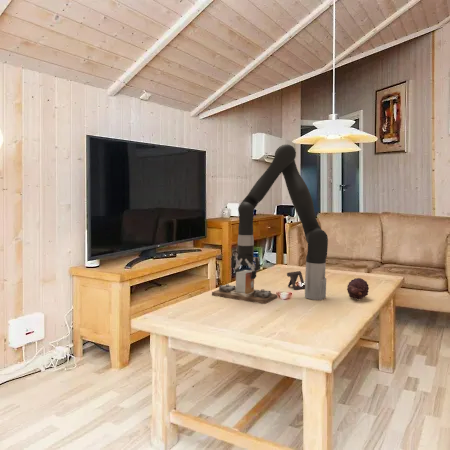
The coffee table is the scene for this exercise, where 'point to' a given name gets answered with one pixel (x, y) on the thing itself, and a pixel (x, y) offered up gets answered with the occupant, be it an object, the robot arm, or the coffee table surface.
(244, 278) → the small box
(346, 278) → the coffee table surface
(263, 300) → the gear board
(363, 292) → the pine cone
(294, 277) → the portable electronic device stand
